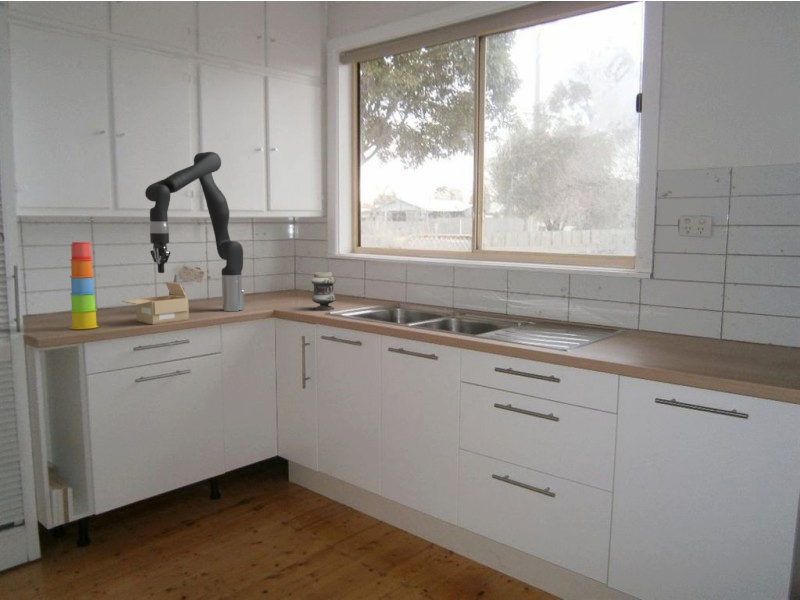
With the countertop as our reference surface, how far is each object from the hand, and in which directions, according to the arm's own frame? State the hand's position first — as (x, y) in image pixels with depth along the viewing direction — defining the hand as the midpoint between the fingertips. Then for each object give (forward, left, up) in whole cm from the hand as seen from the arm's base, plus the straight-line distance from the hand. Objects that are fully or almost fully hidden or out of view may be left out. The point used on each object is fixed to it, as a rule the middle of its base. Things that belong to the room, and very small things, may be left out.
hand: (161, 272), depth 274 cm
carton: (0, 0, -21) cm, 21 cm away
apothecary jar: (-71, +26, -21) cm, 78 cm away
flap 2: (-8, 0, -11) cm, 13 cm away
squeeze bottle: (-17, -16, -21) cm, 31 cm away
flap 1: (+8, 0, -11) cm, 14 cm away
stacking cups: (+30, -6, -21) cm, 38 cm away
